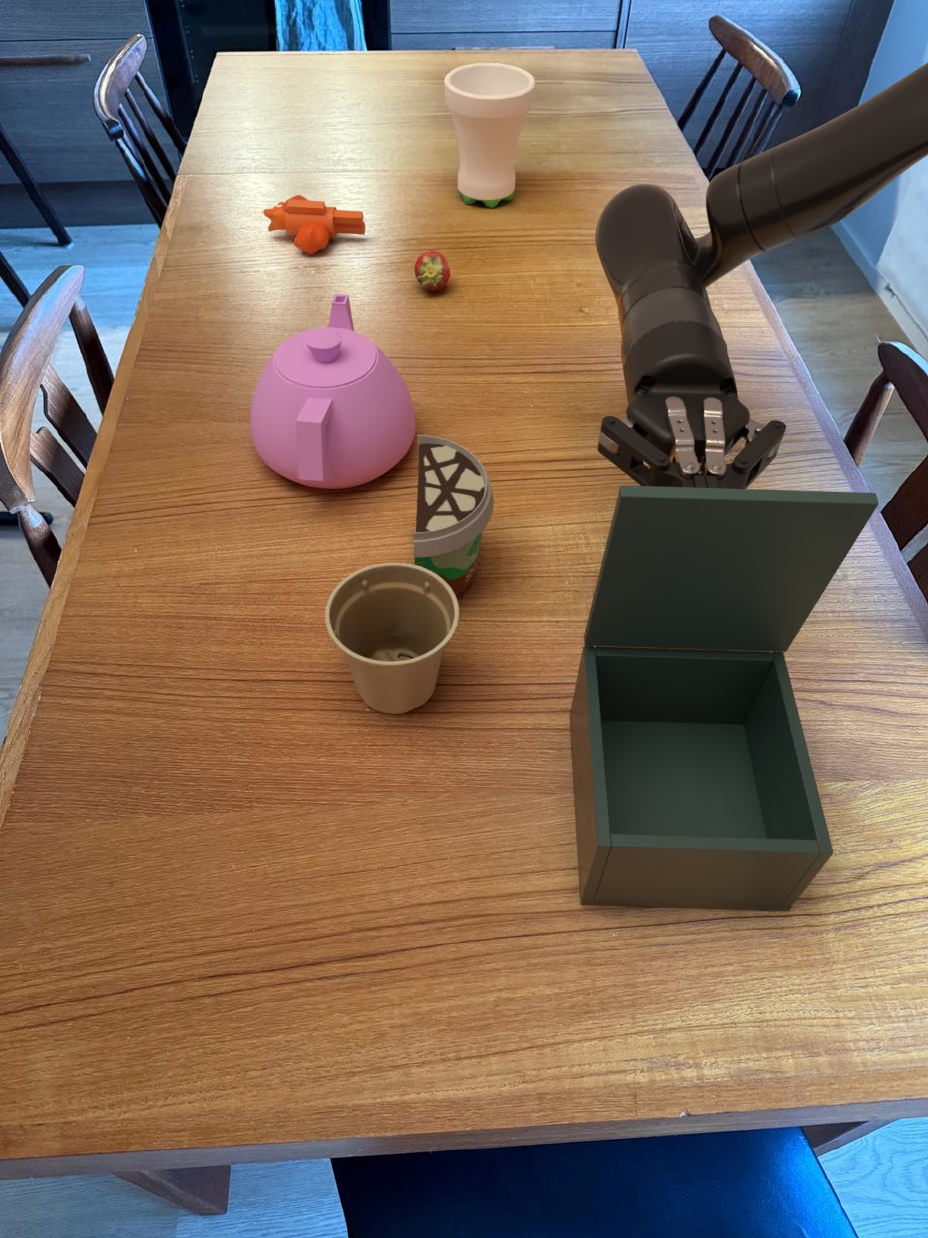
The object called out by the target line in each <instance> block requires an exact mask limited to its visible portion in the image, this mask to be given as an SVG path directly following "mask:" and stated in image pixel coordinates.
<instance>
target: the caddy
mask: <svg viewBox="0 0 928 1238" xmlns="http://www.w3.org/2000/svg"><path fill="white" fill-rule="evenodd" d="M784 653H785V652H773V651H740V650H707V649H674V648H641V647H608V646H585V645H583V646H582V650H581V656H580V659H579V666H578V671H577V675H576V677H577V678H576V681H575V687H574V692H573V696H572V702H571V707H570V712H569V733H570V750H571V765H572V767H571V768H572V785H573V801H574V802H573V803H574V818H575V835H576V836H575V838H576V852H577V853H576V855H577V871H578V872H577V875H578V891H579V904H580V905H581V906H609V907H610V906H611V907H612V906H613V907H640V908H641V907H642V908H643V907H644V908H673V909H676V908H677V909H703V910H706V909H708V910H709V909H710V910H738V911H739V910H741V911H768V912H770V911H771V912H790V910H791V909H793V906H794V905H795V904H796V902H797V901H798V900H799V898H800V897H801V896H802V894H803V893H804V892H805V891H806V889H807V888H808V887H809V886H810V884H811V883H812V882H813V881H814V879H815V878H816V876H817V875H818V874H819V872H821V870H822V869H823V868H824V866H825V865H826V863H828V861H829V860H830V858H831V857H832V856H833V855H834V849H833V845H832V841H831V837H830V833H829V829H828V824H827V821H826V817H825V814H824V809H823V805H822V802H821V798H820V793H819V789H818V786H817V781H816V778H815V774H814V770H813V765H812V762H811V761H812V760H811V757H810V754H809V753H810V752H809V749H808V745H807V742H806V738H805V737H806V736H805V733H804V730H803V726H802V721H801V717H800V713H799V710H798V706H797V701H796V697H795V694H794V690H793V685H792V682H791V678H790V675H789V670H788V665H787V662H786V658H785V654H784Z"/></svg>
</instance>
